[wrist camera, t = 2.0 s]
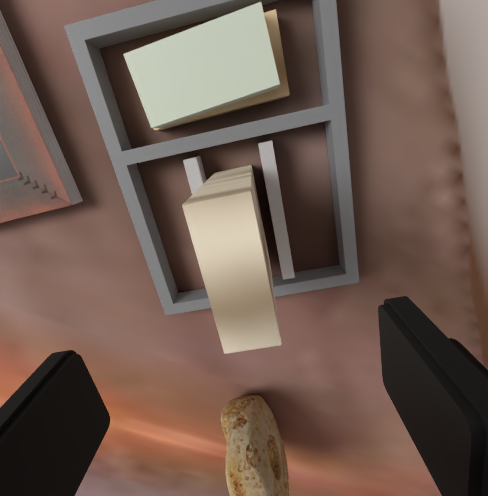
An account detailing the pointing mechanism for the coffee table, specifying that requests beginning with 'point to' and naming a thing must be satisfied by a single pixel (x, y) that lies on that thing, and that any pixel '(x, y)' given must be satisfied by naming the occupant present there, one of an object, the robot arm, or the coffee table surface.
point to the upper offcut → (204, 67)
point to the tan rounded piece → (253, 449)
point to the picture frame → (27, 144)
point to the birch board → (234, 259)
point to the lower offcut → (262, 98)
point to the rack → (220, 141)
